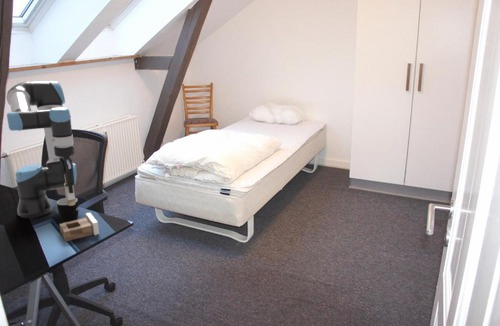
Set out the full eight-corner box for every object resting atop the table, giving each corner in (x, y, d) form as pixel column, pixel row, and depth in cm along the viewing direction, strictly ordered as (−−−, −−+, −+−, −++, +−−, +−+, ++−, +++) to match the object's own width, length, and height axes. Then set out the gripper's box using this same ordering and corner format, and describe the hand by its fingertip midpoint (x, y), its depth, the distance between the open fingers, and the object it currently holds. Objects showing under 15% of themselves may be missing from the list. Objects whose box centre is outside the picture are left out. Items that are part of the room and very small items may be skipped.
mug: (80, 222, 186) (78, 203, 183) (59, 226, 182) (56, 206, 179) (79, 212, 196) (77, 193, 193) (59, 215, 192) (56, 196, 189)
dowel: (67, 203, 171) (63, 173, 167) (74, 202, 173) (71, 172, 168) (68, 206, 169) (65, 175, 164) (76, 204, 170) (72, 174, 166)
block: (60, 232, 176) (59, 223, 174) (87, 226, 182) (86, 217, 181) (65, 241, 169) (64, 232, 167) (93, 234, 175) (92, 225, 174)
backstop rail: (86, 225, 184) (85, 213, 182) (91, 224, 185) (90, 212, 183) (94, 235, 174) (93, 223, 173) (99, 234, 176) (97, 222, 174)
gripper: (49, 142, 166) (57, 193, 174) (58, 151, 154) (65, 206, 161) (68, 140, 171) (74, 190, 178) (78, 148, 159) (84, 202, 166)
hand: (70, 197), depth 170 cm, fingers closed on dowel, 3 cm apart
